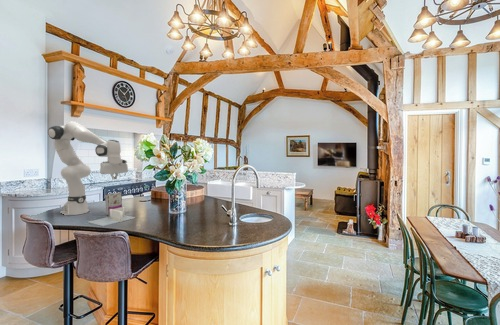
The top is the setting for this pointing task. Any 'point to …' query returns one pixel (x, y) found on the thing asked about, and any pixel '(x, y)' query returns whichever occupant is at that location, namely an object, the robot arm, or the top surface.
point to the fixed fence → (118, 210)
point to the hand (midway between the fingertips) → (114, 179)
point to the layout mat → (109, 221)
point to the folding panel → (117, 214)
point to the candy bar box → (113, 201)
